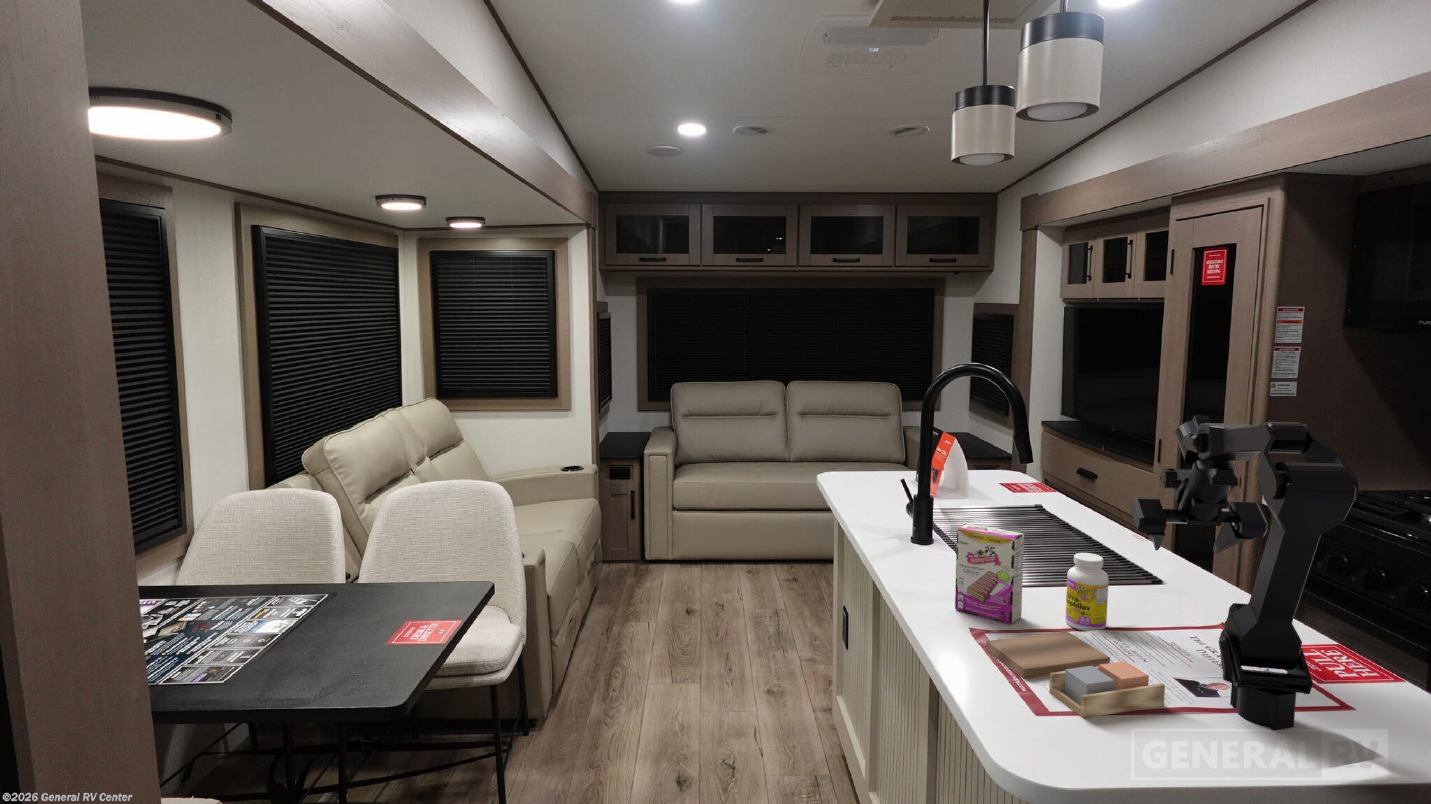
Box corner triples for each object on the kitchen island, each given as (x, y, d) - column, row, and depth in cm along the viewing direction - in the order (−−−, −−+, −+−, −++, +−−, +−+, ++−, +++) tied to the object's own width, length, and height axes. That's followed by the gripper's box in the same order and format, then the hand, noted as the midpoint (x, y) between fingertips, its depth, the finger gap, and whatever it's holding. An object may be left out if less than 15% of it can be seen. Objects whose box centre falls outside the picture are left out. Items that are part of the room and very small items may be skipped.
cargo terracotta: (1147, 702, 103) (1148, 675, 103) (1120, 706, 102) (1121, 679, 102) (1123, 687, 108) (1125, 661, 107) (1097, 690, 107) (1099, 664, 106)
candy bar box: (953, 610, 140) (955, 527, 138) (965, 602, 144) (966, 521, 142) (1012, 626, 133) (1014, 538, 131) (1022, 617, 136) (1025, 532, 134)
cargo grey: (1113, 707, 102) (1114, 680, 102) (1085, 711, 101) (1086, 684, 101) (1090, 691, 106) (1091, 665, 106) (1064, 695, 105) (1065, 669, 105)
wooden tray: (1125, 691, 109) (1126, 662, 109) (1163, 715, 102) (1164, 685, 102) (1048, 702, 107) (1050, 673, 106) (1082, 728, 100) (1083, 697, 99)
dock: (1109, 676, 114) (1110, 657, 114) (1023, 688, 111) (1024, 669, 110) (1065, 648, 124) (1066, 631, 123) (986, 658, 120) (986, 641, 120)
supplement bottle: (1057, 621, 134) (1059, 554, 133) (1083, 615, 137) (1085, 548, 135) (1088, 636, 128) (1091, 565, 127) (1115, 629, 131) (1118, 559, 129)
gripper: (1256, 453, 122) (1231, 517, 131) (1132, 451, 126) (1116, 513, 136) (1282, 502, 113) (1253, 567, 123) (1148, 498, 118) (1129, 560, 127)
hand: (1185, 549), depth 127 cm, fingers open, 9 cm apart
